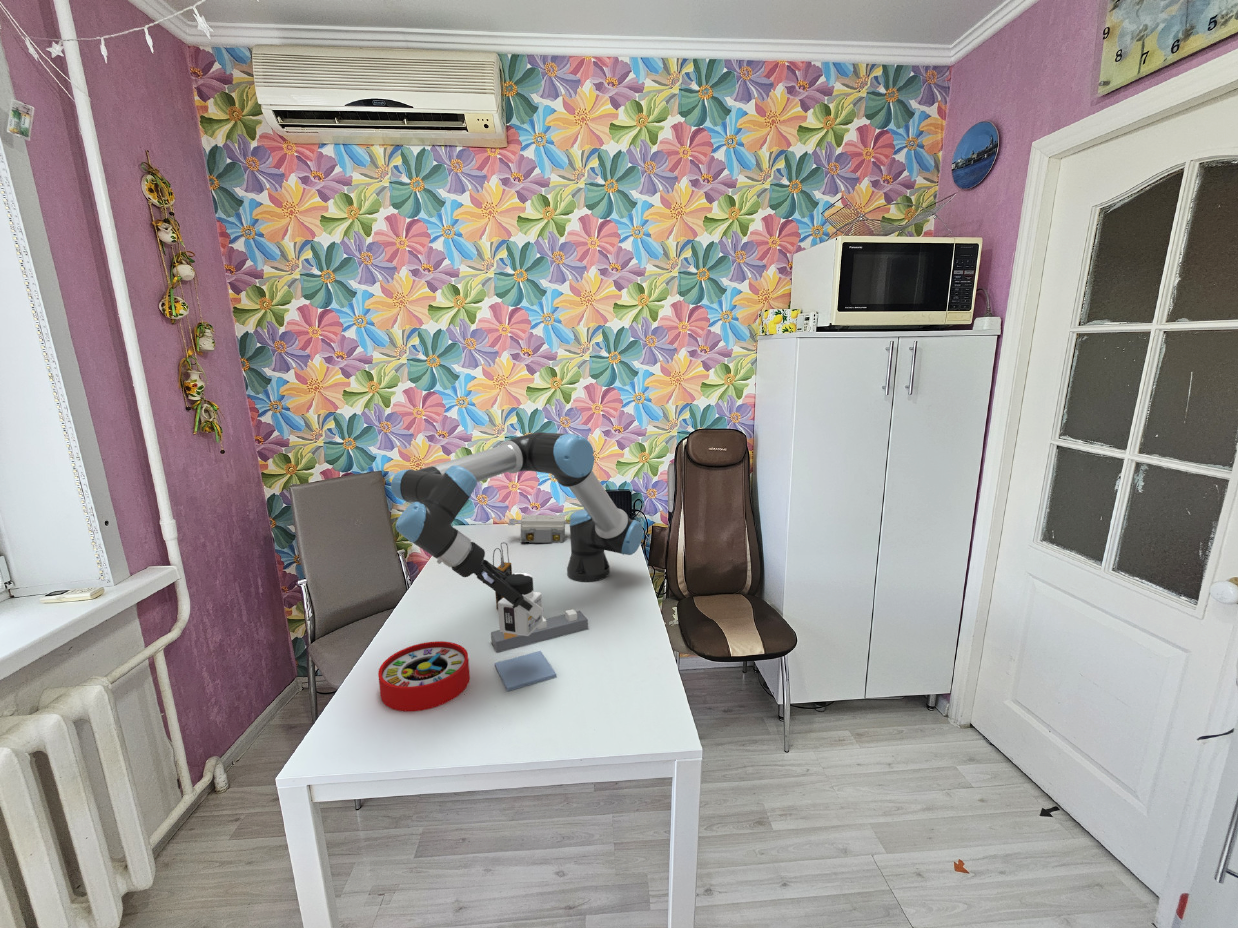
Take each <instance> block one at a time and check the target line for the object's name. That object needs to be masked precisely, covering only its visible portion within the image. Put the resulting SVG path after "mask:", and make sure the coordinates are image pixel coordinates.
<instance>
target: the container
mask: <svg viewBox="0 0 1238 928" xmlns="http://www.w3.org/2000/svg"><path fill="white" fill-rule="evenodd" d="M505 582H506V583H508V584H509V585H510V586H511V587H513V588H514V589H515V590H516V591H517V592H519V593H520V594H523V595H524V596H526V597H527V598H529V599H530V600H531V601H533V602H534V603H536V604H537V605H538V606H540V607H541V608H543V604H542V603H543V602H542V593H541V592H539V591H538V592H537V591H534V578H533V576H532V575H531V574H529V573H525V572H515V573H512V575H510V576H508V577H507V578H506V579H505ZM512 606H513V604H511V603H510V602H509V601H507V600H506V599H505V598H502V599H501V600H500V601H499V602H498V610H497V614H498V623H499V627H498V629H499V630H500V632H504V633H511V634H517V635H523V636H529V635H530V634H531V633H532V632H533V631H534V630H535V629H536V628H537V627H538V626H539V625H540V624H541V623H542V621H543V617H544V616H543V612H542V613H541V614H540V615H539V617H538V618H537V619H535V618H534V617H532V616H531V615H529V614H528V613H526V612H525V611H523V610H522V609H521V608H519V607H515V608H513V607H512ZM542 616H543V617H542Z"/></svg>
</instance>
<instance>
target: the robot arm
mask: <svg viewBox="0 0 1238 928" xmlns="http://www.w3.org/2000/svg"><path fill="white" fill-rule="evenodd" d="M594 453H595V451H594V448H593V446H592V443H591V442H590V441H589V440H588V439H587V437H584V436H582V435H577V434H575V433H559V432H558V433H556V432H543V431H539V432H532V433H531V432H530V433H527V434H523V435H520V436H517V437H513V438H510V439H507V440H503V441H502V442H501V443H500V444H499V445H498V446H496V447H492V448H489V449H485V450H482V451H479V452H475V453H471V454H469V455H468V454H467V455H465V456H461V457H458V458H455V459H454V458H453V459H451V460H448V461H444V462H441V463H438V464H434V465H431V466H427V467H424V468H423V467H422V468H420V469H417V470H416V469H415V470H414V469H410V468H409V469H401V470H399V471H397V472H396V473H395V474H394V475H393V476H392V479H391V482H390V489H391V493H392V495H394V497H395V498H397V499H399V500H402V501H403V502H404V501H405V502H406V503H410V504H409V505H408V506H407V507H406V508H405V510H404V511H403V512H402V513H401V514H400V516H399V517H398V519H397V520H396V523H395V530H396V531H397V532H398V533H399V534H400V535H401V536H403V537H404V538H405V539H407V540H408V542H409V543H411V544H414V545H416V546H417V547H419V548H420V549H421V550H423V551H424V552H426V553H428V554H429V555H430V556H432V557H433V558H435V559H436V560H437V561H436V563H437V564H441V563H443V565H445V566H447V567H448V568H451V570H452V571H453V572H455V573H457V575H459V576H461V577H463V578H467V577H470V576H472V575H473V574H474V575H475V576H476V579H477V580H479V581H481V582H482V583H483V584H485V585H486V586H487V587H489V588H491V590H493V591H496V592H497V593H498V594H500V595H501V596H502V597H504V598H505V599H506V600H507V601H509V602H510V603H511V604H513V606H512V607H513V608H515V607H519V608H521V609H522V610H523V611H525V612H526V613H528V614H529V615H531V616H532V617H534V618H535V619H537V618H538V617H539V615H540V614H541V613H542V614H543V612H544V608H543V607H542V608H541V607H540V606H538V605H537V604H536V603H534V602H533V601H531V600H530V599H529V598H527V597H526V596H524V595H523V594H520V593H519V592H517V591H516V590H515V589H514V588H513V587H511V586H510V585H509V584H508V583H506V582H505V579H506V578H507V577H508V576H510V574H509V573H508V572H506V573H505V574H504V572H503V571H501V570H500V569H498V568H497V567H498V566H497V567H496V566H495V565H494V566H493V563H490V562H489V561H488V560H487V559H485V555H486V551H485V549H484V548H482V546H480V545H478V544H477V543H476V542H474V541H472V540H471V539H470V538H469V537H468V536H466V535H465V534H464V533H462V532H461V531H460V530H458V529H457V528H455V527H454V526H452V524H453V522H454V521H455V519H456V518H457V517H458V515H459V513H460V512H461V511H462V509H463V508H464V506H465V505H466V504H467V502H468V500H469V499H470V498H471V497H472V494H473V492H474V491H475V489H476V487H477V485H478V483H480V482H482V481H485V480H488V479H491V478H494V477H497V476H500V475H503V474H505V473H509V474H517V473H519V472H537V473H542V474H544V473H545V474H550V475H552V476H553V477H554V479H556V481H557V482H558V484H560V486H562V487H566V488H569V491H571V493H572V494H573V495H574V496H575V498H576V499H577V501H578V502H579V504H580V505H581V507H583V509H580V510H576V511H575V512H572V513H571V515H570V519H569V520H570V524H569V535H570V537H569V538H570V551H571V553H570V556H569V561H568V564H567V566H566V574H567V577H568V578H569V579H571V580H573V581H578V582H585V583H586V582H595V581H600V580H603V579H605V578H607V577H608V576H609V575H610V573H611V571H610V570H611V569H610V564H609V562H608V558H607V556H606V553H605V551H607V552H613V553H617V554H622V555H623V556H625V555H626V556H631V555H633V554H635V553H636V552H637V551H638V549H639V548H640V545H641V543H642V540H643V532H644V531H643V526H642V523H641V522H640V521H639V520H637V519H631V518H630V517H629V515H628V514H627V512H625V511H624V510H623V509H621V508H618V507H617V505H616V504H615V503H614V501H613V500H612V498H611V497H610V496H609V494H608V492H607V491H606V489H605V488H604V486H603V484H602V483H601V482H600V480H599V479H598V476H597V475H596V474H595V473H594V471H593V470H594V464H595V456H594Z"/></svg>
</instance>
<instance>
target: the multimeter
mask: <svg viewBox="0 0 1238 928" xmlns="http://www.w3.org/2000/svg"><path fill="white" fill-rule="evenodd" d="M503 544H505V545H506V548H507V552H506V554H507V561H508V562H506V561H504V550H503V546H502V545H503ZM508 546H509V545H508V544H507V543H506V542H504V541H503V542H501V543H500V548H498V547H497V548H495V549H494V550H493V553H492V565H493V566H495V562H494V561H495V558H494V557H495V553H496V550H499V552H500V565H498V566H497V568H498V569H500V570H501V571H503V572H504V574H505V573H506V572H508V573H509V574H510V575H512V574H513V571H512V570H513V568H512V562H510V559H509V547H508ZM502 598H504V597H502V596H501V595H500V594H498V593H497V592H496V591H495V603H496V606H495V607H496V610H497V611H498V602H499V601H500V600H501V599H502Z"/></svg>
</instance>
